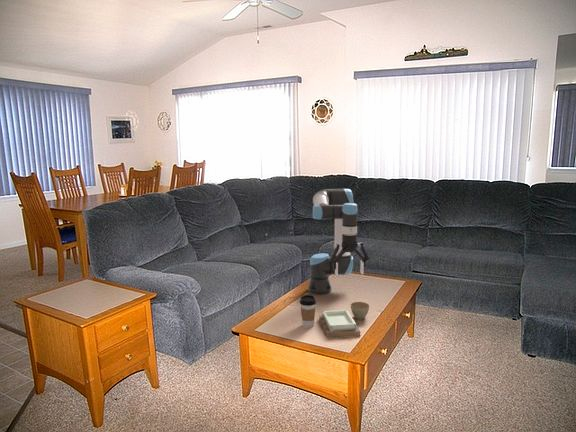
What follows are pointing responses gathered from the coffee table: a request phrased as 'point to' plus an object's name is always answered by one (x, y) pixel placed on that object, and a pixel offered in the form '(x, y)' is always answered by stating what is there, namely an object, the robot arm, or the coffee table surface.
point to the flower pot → (359, 309)
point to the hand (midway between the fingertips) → (349, 274)
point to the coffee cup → (308, 310)
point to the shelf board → (338, 333)
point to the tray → (339, 320)
